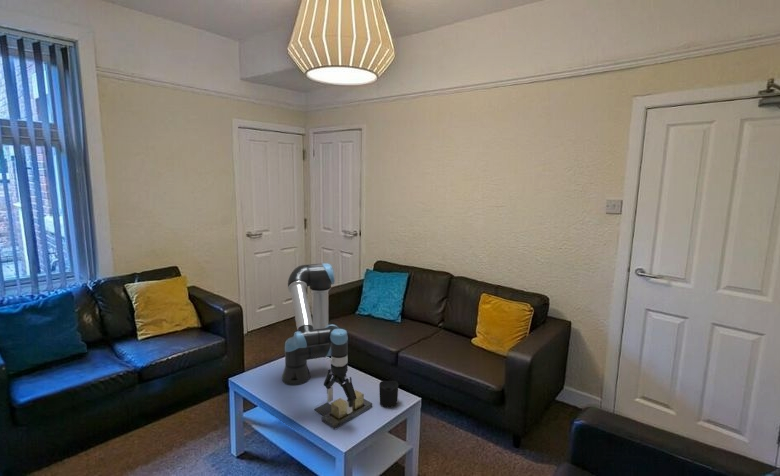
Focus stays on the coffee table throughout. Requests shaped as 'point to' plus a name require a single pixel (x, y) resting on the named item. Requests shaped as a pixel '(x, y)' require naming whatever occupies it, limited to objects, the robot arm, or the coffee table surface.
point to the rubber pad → (323, 409)
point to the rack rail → (335, 423)
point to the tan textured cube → (339, 409)
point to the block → (358, 401)
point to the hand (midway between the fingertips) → (339, 406)
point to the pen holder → (388, 393)
